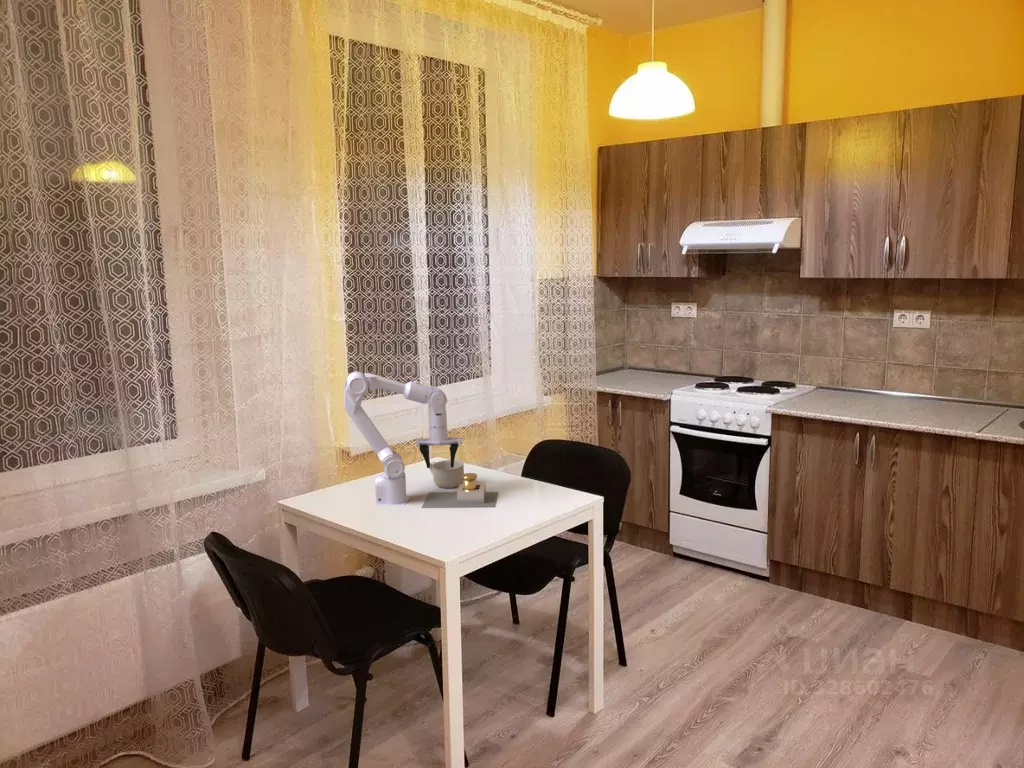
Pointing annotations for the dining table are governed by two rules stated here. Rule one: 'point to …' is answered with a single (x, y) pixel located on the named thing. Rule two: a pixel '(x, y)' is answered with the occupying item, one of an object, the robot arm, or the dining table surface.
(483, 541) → the dining table surface
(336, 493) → the dining table surface
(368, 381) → the robot arm
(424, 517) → the dining table surface
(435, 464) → the teacup
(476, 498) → the block
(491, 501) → the mat
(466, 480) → the brass door knob
